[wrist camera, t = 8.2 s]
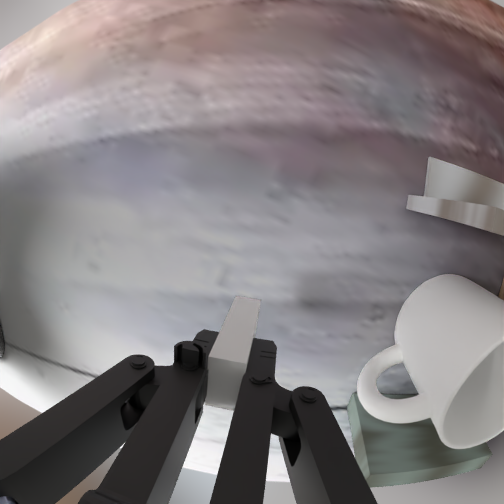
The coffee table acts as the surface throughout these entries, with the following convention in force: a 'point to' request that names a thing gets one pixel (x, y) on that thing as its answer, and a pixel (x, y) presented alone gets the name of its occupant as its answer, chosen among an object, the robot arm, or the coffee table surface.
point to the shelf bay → (421, 432)
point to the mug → (445, 362)
